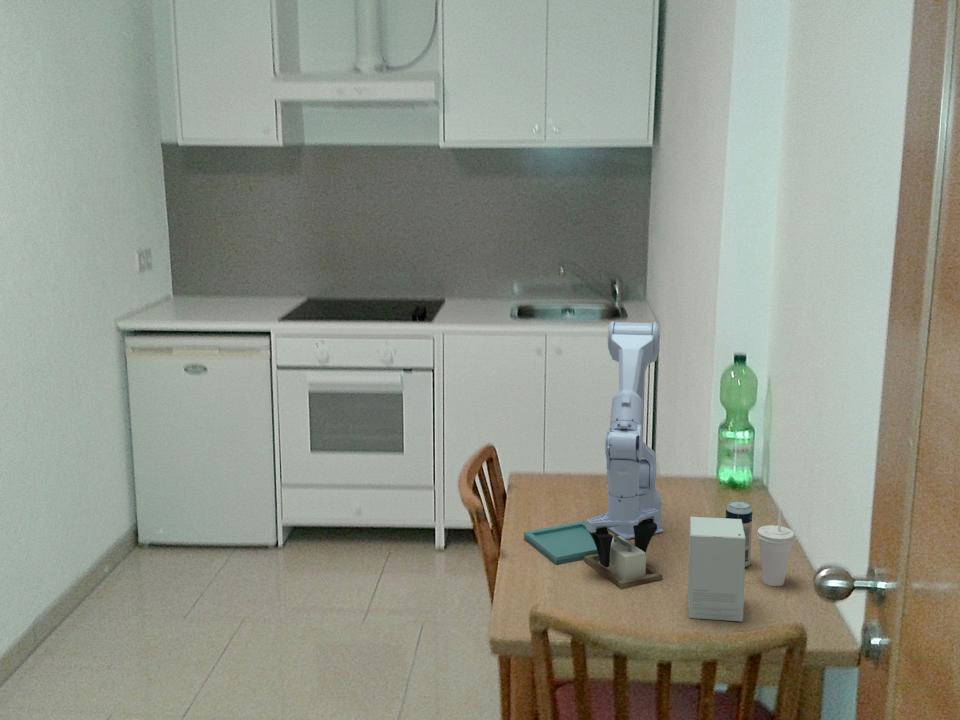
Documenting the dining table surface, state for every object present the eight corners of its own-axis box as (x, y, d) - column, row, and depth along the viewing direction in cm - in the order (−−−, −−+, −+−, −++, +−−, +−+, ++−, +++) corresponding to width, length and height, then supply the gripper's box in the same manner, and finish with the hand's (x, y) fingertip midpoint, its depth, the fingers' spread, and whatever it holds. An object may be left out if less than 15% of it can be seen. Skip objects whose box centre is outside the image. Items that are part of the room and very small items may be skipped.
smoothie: (793, 590, 166) (797, 516, 163) (756, 588, 168) (759, 514, 165) (789, 575, 172) (793, 503, 170) (753, 573, 174) (756, 501, 171)
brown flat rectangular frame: (623, 553, 184) (623, 548, 184) (662, 579, 172) (662, 574, 171) (583, 561, 180) (583, 556, 180) (620, 588, 168) (621, 583, 168)
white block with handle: (619, 560, 181) (619, 530, 180) (645, 578, 173) (645, 547, 172) (599, 564, 179) (599, 534, 178) (624, 582, 171) (625, 551, 170)
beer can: (750, 560, 179) (753, 501, 177) (749, 570, 175) (751, 510, 172) (725, 557, 181) (727, 498, 178) (722, 567, 176) (725, 507, 174)
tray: (584, 527, 197) (584, 521, 197) (619, 552, 184) (619, 544, 184) (524, 539, 191) (524, 532, 191) (556, 564, 179) (556, 557, 179)
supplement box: (740, 598, 164) (743, 517, 161) (743, 623, 155) (747, 537, 152) (687, 595, 165) (689, 514, 162) (687, 618, 157) (689, 534, 154)
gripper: (600, 505, 166) (599, 576, 169) (668, 493, 172) (667, 562, 175) (580, 493, 173) (580, 562, 176) (647, 481, 178) (646, 549, 181)
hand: (622, 561), depth 176 cm, fingers open, 7 cm apart
